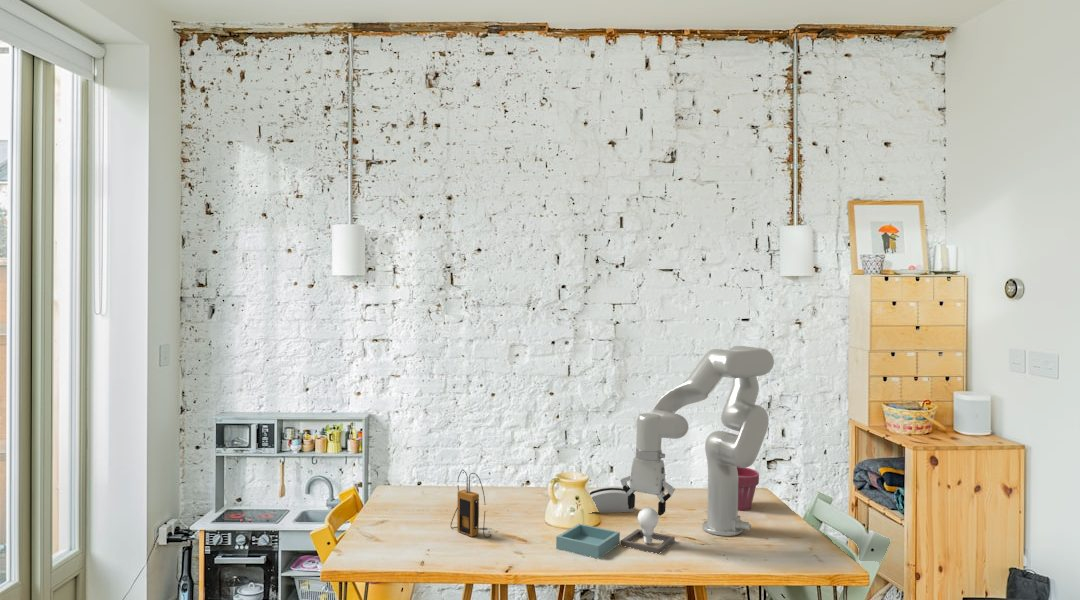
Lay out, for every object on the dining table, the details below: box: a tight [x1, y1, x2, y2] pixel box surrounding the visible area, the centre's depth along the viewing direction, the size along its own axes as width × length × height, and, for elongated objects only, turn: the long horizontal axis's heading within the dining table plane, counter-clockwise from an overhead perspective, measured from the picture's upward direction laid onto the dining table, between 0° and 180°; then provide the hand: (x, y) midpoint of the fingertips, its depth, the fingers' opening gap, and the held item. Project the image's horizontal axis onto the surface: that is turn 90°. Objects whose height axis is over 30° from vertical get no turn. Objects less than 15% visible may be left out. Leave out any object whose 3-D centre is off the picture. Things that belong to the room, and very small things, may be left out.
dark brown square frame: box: [619, 528, 676, 555], centre depth 215 cm, size 12×12×2 cm
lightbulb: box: [637, 506, 660, 545], centre depth 215 cm, size 6×6×11 cm
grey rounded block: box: [588, 485, 634, 513], centre depth 246 cm, size 17×5×10 cm, turn 97°
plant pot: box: [737, 467, 760, 511], centre depth 253 cm, size 14×14×13 cm
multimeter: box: [450, 469, 492, 538], centre depth 225 cm, size 15×10×20 cm
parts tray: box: [555, 523, 621, 559], centre depth 212 cm, size 14×14×4 cm
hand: (646, 511), depth 215 cm, fingers open, 9 cm apart
